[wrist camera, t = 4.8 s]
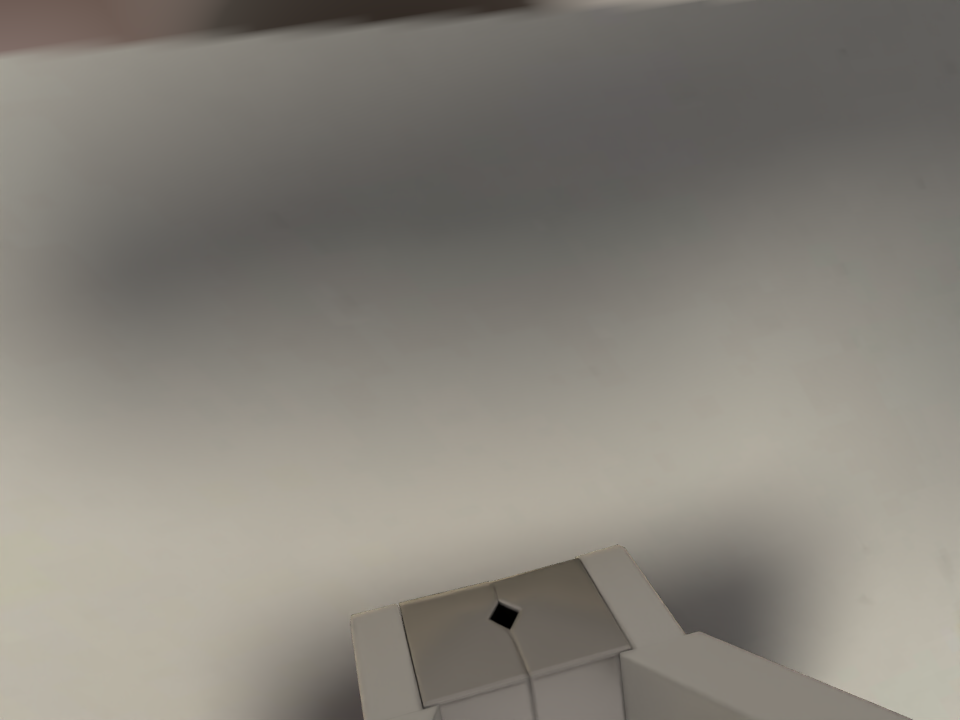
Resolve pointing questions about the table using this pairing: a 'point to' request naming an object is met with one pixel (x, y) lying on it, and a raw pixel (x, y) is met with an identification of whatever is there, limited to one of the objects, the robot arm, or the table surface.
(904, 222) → the table surface
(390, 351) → the table surface
